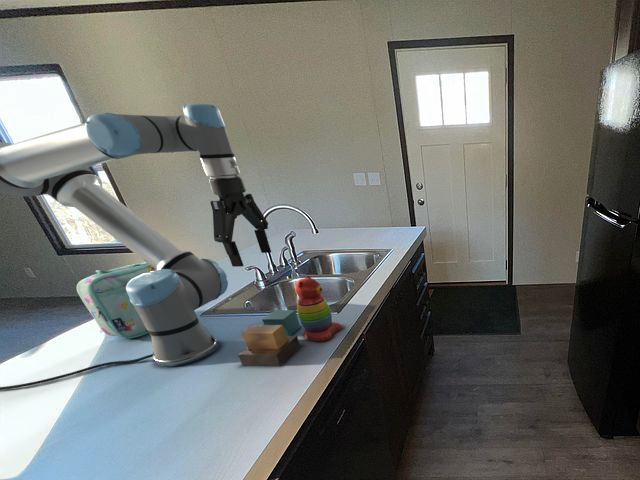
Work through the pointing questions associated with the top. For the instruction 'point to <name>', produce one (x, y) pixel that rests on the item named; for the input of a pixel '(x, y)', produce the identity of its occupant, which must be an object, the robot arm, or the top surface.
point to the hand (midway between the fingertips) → (253, 259)
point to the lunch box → (114, 300)
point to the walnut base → (269, 354)
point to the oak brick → (265, 337)
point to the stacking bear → (314, 311)
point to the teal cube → (283, 320)
